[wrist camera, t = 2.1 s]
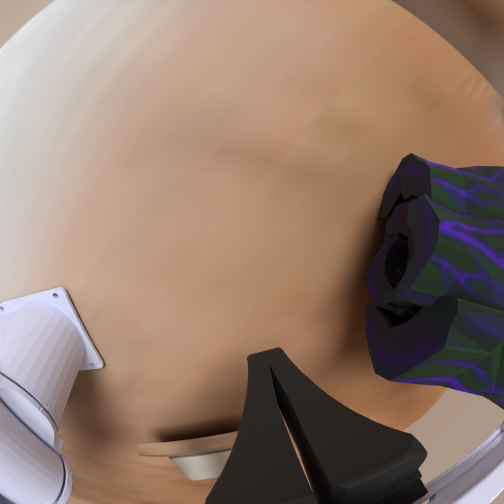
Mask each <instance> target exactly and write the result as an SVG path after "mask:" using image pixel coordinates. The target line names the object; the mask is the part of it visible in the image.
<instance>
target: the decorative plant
mask: <svg viewBox="0 0 504 504" xmlns="http://www.w3.org/2000/svg"><path fill="white" fill-rule="evenodd" d="M380 217H381V218H383V219H386V225H385V233H384V240H383V245H382V247H381V248H380V249H379V251H378V252H377V254H376V255H375V257H374V259H373V260H372V262H371V264H370V265H369V267H368V268H367V272H366V276H365V281H364V282H365V285H366V288H367V291H368V294H369V297H370V300H371V303H370V304H369V305H368V306H367V308H366V335H367V342H368V349H369V353H370V356H371V360H372V363H373V367H374V371H375V373H376V374H378V375H379V376H381V377H383V378H385V379H387V380H389V381H394V382H403V383H413V384H423V385H436V386H443V387H447V388H451V389H455V390H459V391H463V392H467V393H471V394H476V395H480V396H483V397H485V398H487V399H489V400H490V401H492V402H493V403H495V404H497V405H498V406H499V407H501V408H502V409H504V167H501V166H474V167H465V168H457V169H455V168H451V167H448V166H444V165H440V164H436V163H432V162H429V161H427V160H425V159H422V158H420V157H418V156H416V155H414V154H412V153H411V154H409V155H407V156H406V157H404V158H403V159H402V160H401V162H400V164H399V166H398V168H397V170H396V172H395V174H394V176H393V178H392V179H391V181H390V183H389V185H388V187H387V188H386V190H385V192H384V195H383V202H382V206H381V209H380Z"/></svg>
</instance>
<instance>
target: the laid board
mask: <svg viewBox="0 0 504 504" xmlns="http://www.w3.org/2000/svg"><path fill="white" fill-rule="evenodd" d="M231 450H232V448H229V449H223V450H217V451H211V452H204V453H197V454H189V455H180V456H169V458H170V459H171V460H172V461H173V462H174V464H175V465H176V466H177V467H178V468H179V469H180V470H181V471H182V472H183V473H184V474H185V475H186V476H187V477H188V478H189V479H190V480H191V481H192V480H202V479H210V478H217V477H219V476H220V474H221V472H222V470H223V468H224V466H225V464H226V462H227V460H228V458H229V455H230V453H231Z"/></svg>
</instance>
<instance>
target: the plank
mask: <svg viewBox="0 0 504 504" xmlns="http://www.w3.org/2000/svg"><path fill="white" fill-rule="evenodd" d="M237 434H238V431H236V432H232V433H226V434H221V435H215V436H209V437H203V438H196V439H189V440H181V441H172V442H162V443H149V444H137V448H138V453H139V456H159V457H169V456H180V455H189V454H197V453H204V452H211V451H217V450H223V449H229V448H233V445H234V442H235V439H236V437H237Z"/></svg>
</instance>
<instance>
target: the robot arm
mask: <svg viewBox="0 0 504 504" xmlns="http://www.w3.org/2000/svg"><path fill="white" fill-rule="evenodd" d="M55 293H56V294H57V295H58V297H57V296H56V295H55ZM3 308H4V309H3ZM247 360H248V385H247V394H246V400H245V406H244V411H243V415H242V419H241V423H240V427H239V430H238V434H237V437H236V439H235V442H234V445H233V448H232V450H231V453H230V455H229V458H228V460H227V462H226V464H225V466H224V468H223V470H222V472H221V474H220V476H219V478H218V480H217V482H216V483H215V485H214V487H213V488H212V490H211V492H210V493H209V495H208V496H207V498H206V502H205V504H422V503H423V502H425V501H427V500H428V499H430V500H429V503H428V504H489V503H490V502H492V501H493V500H494V498H496V497H497V496H498V494H500V493H501V492H502V490H503V489H504V421H503V423H502V424H501V426H500V427H499V428H498V429H497V430H496V431H495V432H494V433H493V434H492V435H490V436H489V437H488V438H487V439H486V440H485V441H484V442H483V443H481V444H480V445H479V446H478V447H477V448H476V449H474V450H473V451H472V452H471V453H469V454H468V455H467V456H465V457H464V458H463V459H462V460H460V461H459V462H458V463H456V464H455V465H454V466H452V467H451V468H449V469H448V470H446V471H445V472H444V473H442V474H441V475H439V476H438V477H436V478H435V479H433V480H432V481H430V482H428V483H427V484H425V485H424V484H423V483H422V481H421V479H420V478H421V477H422V475H421V473H420V471H419V470H418V468H419V467H420V466H421V464H422V463H423V462H424V460H425V459H426V457H427V451H426V450H425V448H424V447H423V445H422V444H421V443H420V442H419V441H418V440H417V439H416V438H415V437H414V436H413V435H412V434H410V433H406V432H402V431H399V430H396V429H393V428H390V427H387V426H385V425H382V424H380V423H377V422H375V421H373V420H371V419H369V418H367V417H364V416H362V415H360V414H358V413H356V412H354V411H353V410H351V409H349V408H348V407H346V406H344V405H343V404H341V403H340V402H338V401H337V400H335V399H334V398H332V397H331V396H329V395H328V394H327V393H325V392H324V391H323V390H322V389H320V388H319V387H318V386H317V385H315V384H314V383H313V382H312V381H311V380H310V379H309V378H308V377H307V376H305V375H304V374H303V373H302V372H301V371H300V370H299V369H298V368H297V367H296V366H295V365H294V363H293V362H292V361H291V360H290V359H289V358H288V357H287V355H286V354H285V353H284V351H283V350H282V349H281V348H279V347H278V348H274V349H270V350H267V351H263V352H259V353H255V354H251V355H249V356H248V357H247ZM93 363H94V364H93ZM103 365H104V362H103V360H102V359H101V357H100V355H99V354H98V352H97V350H96V348H95V347H94V345H93V343H92V341H91V339H90V338H89V336H88V334H87V332H86V330H85V328H84V326H83V324H82V323H81V321H80V319H79V317H78V315H77V313H76V311H75V308H74V306H73V304H72V302H71V300H70V298H69V296H68V293H67V291H66V290H65V289H64V288H62V287H58V288H54V289H50V290H46V291H42V292H38V293H35V294H31V295H27V296H23V297H19V298H16V299H12V300H8V301H4V302H1V303H0V504H67V502H68V500H69V497H70V495H71V491H72V485H73V475H72V469H71V467H70V464H69V462H68V460H67V459H66V458H65V456H64V455H63V454H61V451H62V447H63V443H64V441H63V440H62V439H61V438H60V436H59V435H58V433H57V432H58V429H59V425H60V422H61V419H62V416H63V413H64V410H65V407H66V404H67V401H68V398H69V395H70V392H71V390H72V387H73V384H74V381H75V379H76V376H77V374H78V371H81V370H90V369H99V368H102V367H103ZM278 406H279V407H278ZM279 409H280V410H279ZM280 411H281V413H282V415H283V417H284V420H285V422H286V424H287V426H288V428H289V431H290V433H291V435H292V437H293V439H294V441H295V443H296V446H297V448H298V451H299V453H300V456H301V459H302V462H303V465H304V468H305V471H306V474H307V476H308V479H309V482H310V485H311V487H310V485H309V483H308V481H307V478H306V476H305V474H304V471H303V469H302V467H301V464H300V462H299V459H298V457H297V455H296V452H295V450H294V447H293V445H292V442H291V439H290V437H289V434H288V432H287V429H286V426H285V424H284V421H283V418H282V416H281V413H280ZM311 488H312V489H311ZM312 491H313V492H312Z"/></svg>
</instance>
